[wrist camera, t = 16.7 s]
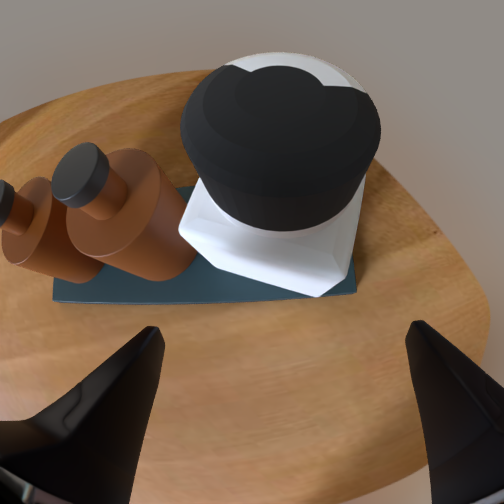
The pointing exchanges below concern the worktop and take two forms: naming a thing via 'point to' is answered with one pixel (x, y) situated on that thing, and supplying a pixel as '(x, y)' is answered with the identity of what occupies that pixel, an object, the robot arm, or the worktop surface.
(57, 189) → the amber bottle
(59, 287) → the tray
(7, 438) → the robot arm
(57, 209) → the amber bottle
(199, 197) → the medicine bottle
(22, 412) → the worktop surface
